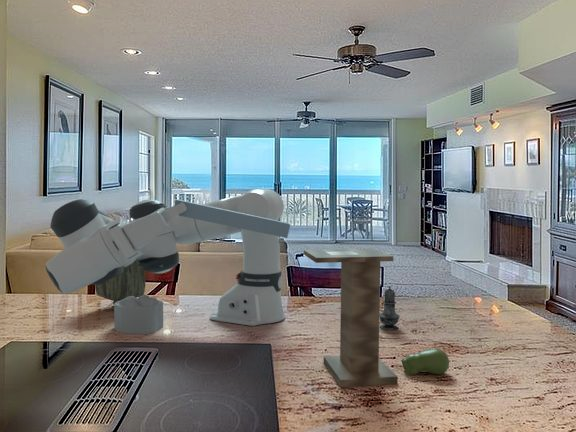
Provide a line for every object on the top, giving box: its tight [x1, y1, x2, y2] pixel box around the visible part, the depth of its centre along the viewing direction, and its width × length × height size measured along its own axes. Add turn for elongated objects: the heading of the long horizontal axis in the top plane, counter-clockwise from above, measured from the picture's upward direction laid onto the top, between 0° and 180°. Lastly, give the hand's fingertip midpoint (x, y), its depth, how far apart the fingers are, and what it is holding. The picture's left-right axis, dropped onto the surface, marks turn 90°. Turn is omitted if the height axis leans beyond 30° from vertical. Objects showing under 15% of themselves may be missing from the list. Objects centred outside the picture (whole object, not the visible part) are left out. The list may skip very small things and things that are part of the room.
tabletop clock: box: [94, 260, 147, 312], centre depth 161 cm, size 14×9×25 cm, turn 58°
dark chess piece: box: [379, 285, 401, 332], centre depth 142 cm, size 6×6×12 cm
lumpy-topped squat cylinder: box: [113, 294, 164, 335], centre depth 140 cm, size 10×13×9 cm
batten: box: [173, 198, 291, 239], centre depth 105 cm, size 24×4×3 cm, turn 101°
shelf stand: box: [303, 248, 399, 388], centre depth 107 cm, size 17×14×26 cm
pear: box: [400, 348, 450, 376], centre depth 108 cm, size 6×5×10 cm
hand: (185, 204), depth 103 cm, fingers closed on batten, 4 cm apart
